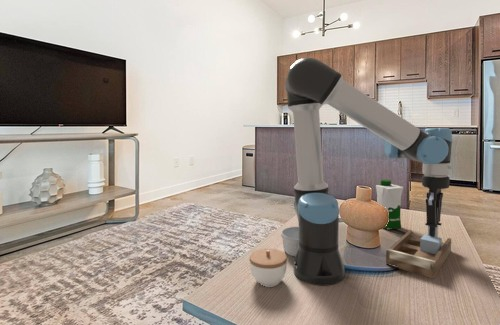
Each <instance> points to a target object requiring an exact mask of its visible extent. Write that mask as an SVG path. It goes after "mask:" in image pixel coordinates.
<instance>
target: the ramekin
mask: <svg viewBox="0 0 500 325" xmlns="http://www.w3.org/2000/svg"><path fill="white" fill-rule="evenodd" d="M280 234H281V235H280V236H281V240H282V248H283V250H284V253H285V254H286V255H287V254H288V255H289V256H292V257H296V254H297V251H298V248H299V226H289V227H286V228H284V229H282V230H281V232H280Z"/></svg>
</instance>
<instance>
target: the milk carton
mask: <svg viewBox="0 0 500 325" xmlns="http://www.w3.org/2000/svg"><path fill="white" fill-rule="evenodd" d="M375 190H376V195H377V196H376V201H377V202H378V203H380V204H381V205H383V206H384V207H386V209H387V211H388V213H389V222H388V224H387V226H386V227H385V228H392V229H391V230H398V229H402V223H401V222H402V221H401V210H402V209H401V206H402V205H401V203H402V199H401V198H402V195H403V190H404V186H400V185H398V184H393V183H392V181H391V180H390V179H381V180H380V184H376V185H375ZM377 202H376V203H377Z"/></svg>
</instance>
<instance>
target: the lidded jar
mask: <svg viewBox="0 0 500 325" xmlns="http://www.w3.org/2000/svg"><path fill="white" fill-rule="evenodd" d="M287 261H288V256H287V253H286V252H285V251H282V250H280V249H276V248H260V249H257V250H255V251H252V252H251V253H250V254H249V264H250V265H249V266H250V271H251V275H252V277H253V279H254V280H255V281H256V282H257V283H258V284H259V283H260V284H261V285H260V284H259V285H260V286H262V285H263V286H262V287H264V286H265V287H266V288H273V287H276V286H278V285H279V284H280V283H281V281H283V279H284V278H285V275H286V272H287V264H288V263H287Z"/></svg>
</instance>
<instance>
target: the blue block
mask: <svg viewBox="0 0 500 325" xmlns="http://www.w3.org/2000/svg"><path fill="white" fill-rule="evenodd" d="M420 238H421V239H420V251H424V252H428V253H432V254H437V253H438V251H439V250H440V248H441V244H442V242H443V240H442V237H439V236H438V237H434V236H429V235H428V234H423V235H422V237H420Z"/></svg>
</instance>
